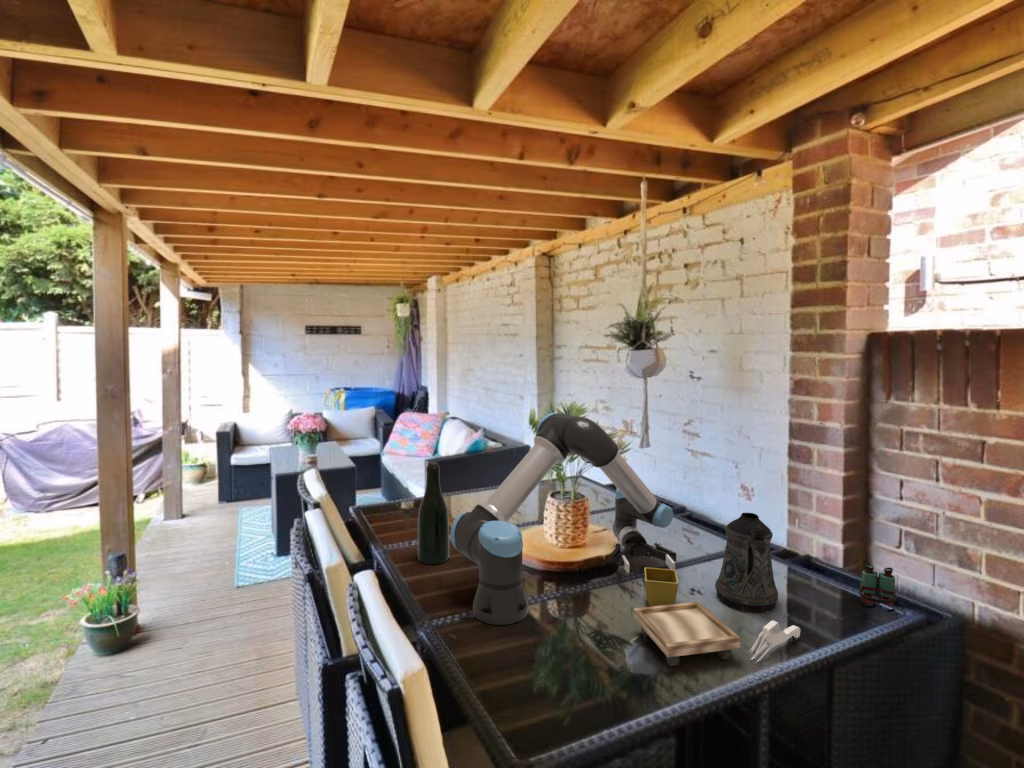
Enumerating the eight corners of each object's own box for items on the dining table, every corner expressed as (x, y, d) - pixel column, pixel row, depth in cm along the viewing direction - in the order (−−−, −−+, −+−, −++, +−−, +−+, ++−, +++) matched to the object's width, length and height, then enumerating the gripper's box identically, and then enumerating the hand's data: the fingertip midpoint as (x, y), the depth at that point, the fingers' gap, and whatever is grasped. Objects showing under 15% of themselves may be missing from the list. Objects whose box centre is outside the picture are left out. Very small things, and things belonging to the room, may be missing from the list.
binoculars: (861, 575, 154) (860, 559, 162) (858, 610, 156) (858, 593, 164) (900, 582, 149) (897, 566, 158) (897, 618, 151) (895, 600, 160)
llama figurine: (763, 686, 131) (802, 636, 139) (754, 648, 127) (795, 600, 136) (756, 682, 132) (795, 633, 141) (746, 645, 129) (787, 597, 138)
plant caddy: (667, 672, 125) (668, 646, 125) (633, 631, 143) (633, 608, 142) (739, 662, 129) (740, 637, 128) (697, 623, 146) (698, 601, 146)
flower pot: (677, 615, 151) (678, 583, 150) (644, 612, 153) (645, 580, 152) (674, 600, 159) (675, 569, 159) (643, 597, 161) (644, 567, 160)
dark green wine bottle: (428, 568, 181) (427, 467, 178) (412, 558, 189) (411, 461, 186) (455, 560, 188) (455, 462, 185) (438, 550, 196) (438, 457, 193)
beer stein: (746, 583, 171) (750, 503, 169) (800, 612, 153) (804, 523, 151) (702, 592, 165) (705, 508, 163) (753, 623, 147) (756, 530, 145)
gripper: (669, 551, 187) (692, 579, 166) (595, 553, 186) (608, 581, 165) (670, 529, 187) (693, 554, 165) (595, 531, 186) (609, 556, 164)
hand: (651, 568), depth 165 cm, fingers open, 13 cm apart
